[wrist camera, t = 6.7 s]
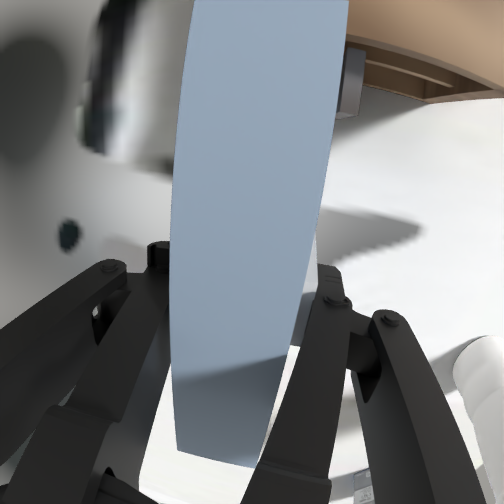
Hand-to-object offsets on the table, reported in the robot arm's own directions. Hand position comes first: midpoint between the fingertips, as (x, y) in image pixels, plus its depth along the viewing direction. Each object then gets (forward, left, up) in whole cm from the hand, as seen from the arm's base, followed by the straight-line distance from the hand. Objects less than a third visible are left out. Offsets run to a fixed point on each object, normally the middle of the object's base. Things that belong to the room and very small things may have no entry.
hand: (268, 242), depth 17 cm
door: (-2, 0, -1) cm, 2 cm away
